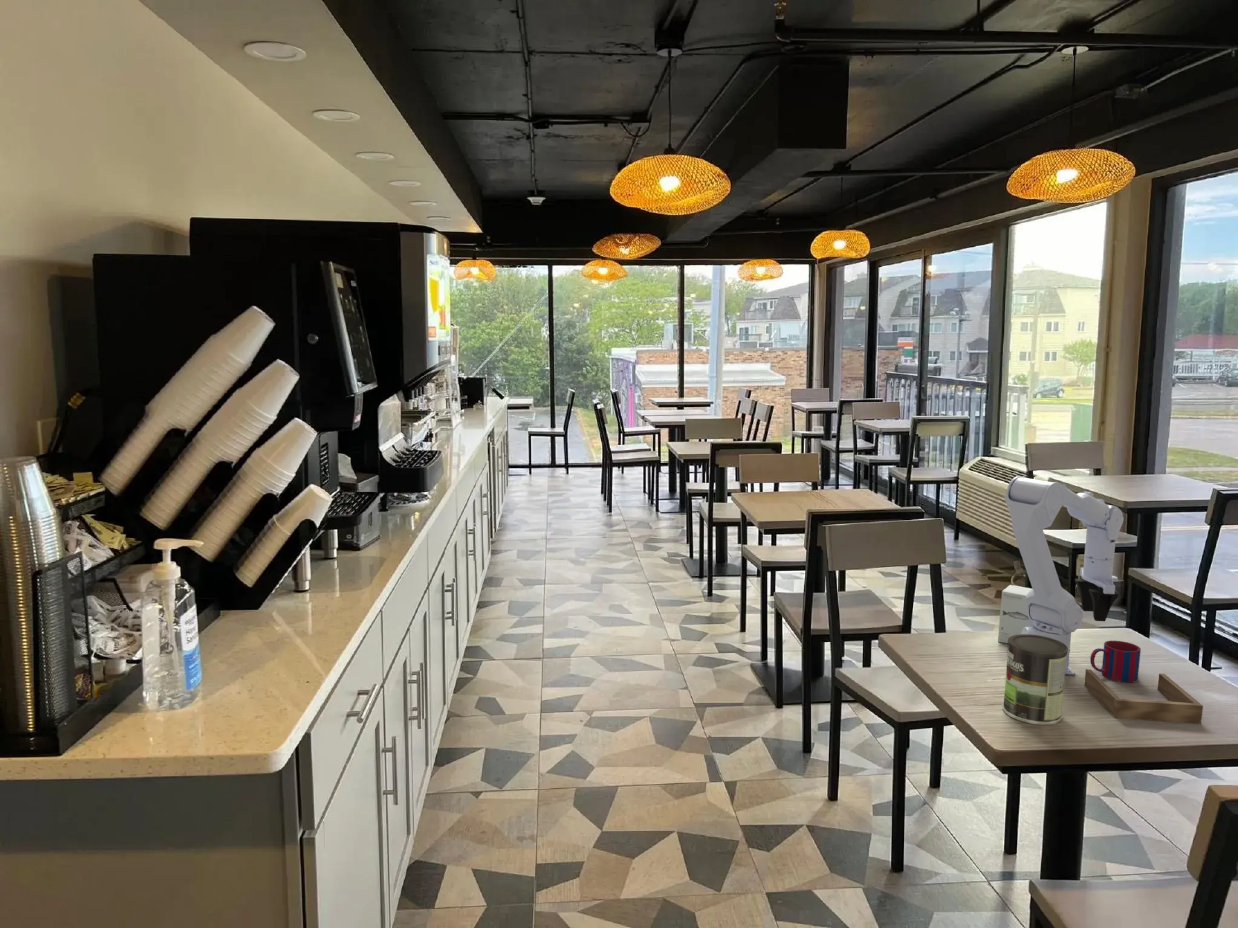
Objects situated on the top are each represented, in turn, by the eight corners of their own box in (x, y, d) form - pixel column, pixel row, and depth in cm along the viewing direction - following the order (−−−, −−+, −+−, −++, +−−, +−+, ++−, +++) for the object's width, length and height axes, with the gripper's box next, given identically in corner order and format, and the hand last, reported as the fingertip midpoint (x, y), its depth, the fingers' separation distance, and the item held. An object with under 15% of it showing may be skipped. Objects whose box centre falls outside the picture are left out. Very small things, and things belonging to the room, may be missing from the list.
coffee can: (1016, 725, 160) (1021, 652, 158) (994, 701, 171) (999, 633, 168) (1072, 725, 160) (1078, 653, 158) (1046, 702, 170) (1052, 634, 168)
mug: (1144, 683, 180) (1147, 651, 179) (1095, 682, 180) (1098, 651, 179) (1126, 670, 187) (1129, 640, 186) (1079, 669, 187) (1082, 639, 186)
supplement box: (996, 642, 204) (1000, 590, 202) (1006, 633, 209) (1010, 583, 207) (1030, 649, 199) (1034, 596, 197) (1038, 640, 205) (1043, 589, 203)
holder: (1114, 717, 164) (1116, 700, 163) (1084, 685, 179) (1085, 669, 178) (1201, 723, 161) (1203, 705, 161) (1162, 689, 176) (1164, 673, 176)
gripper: (1132, 566, 184) (1126, 627, 186) (1105, 549, 198) (1100, 606, 200) (1096, 564, 185) (1091, 625, 187) (1072, 548, 199) (1067, 604, 201)
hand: (1093, 615), depth 194 cm, fingers open, 6 cm apart
